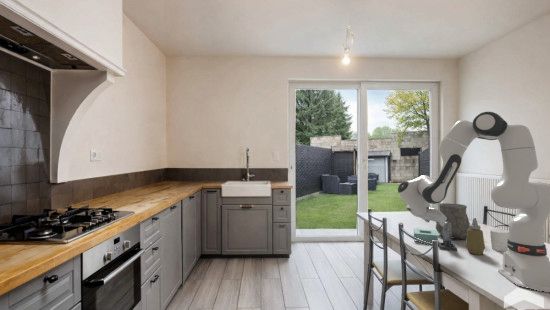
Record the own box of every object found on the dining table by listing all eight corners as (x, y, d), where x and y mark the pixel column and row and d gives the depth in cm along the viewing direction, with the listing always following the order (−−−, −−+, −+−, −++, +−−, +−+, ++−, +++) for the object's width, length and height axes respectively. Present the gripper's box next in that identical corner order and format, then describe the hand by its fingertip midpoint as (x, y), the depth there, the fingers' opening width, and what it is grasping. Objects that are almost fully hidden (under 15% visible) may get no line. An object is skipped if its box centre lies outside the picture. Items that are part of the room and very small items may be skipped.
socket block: (437, 244, 159) (437, 235, 160) (414, 241, 165) (414, 233, 165) (435, 238, 170) (435, 230, 170) (413, 236, 175) (413, 228, 176)
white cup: (512, 252, 145) (512, 233, 145) (495, 251, 147) (495, 232, 147) (503, 247, 153) (503, 229, 153) (487, 246, 155) (487, 228, 155)
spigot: (452, 249, 151) (451, 223, 151) (443, 248, 152) (443, 222, 152) (451, 247, 154) (450, 221, 154) (442, 246, 156) (442, 221, 156)
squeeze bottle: (468, 254, 142) (468, 219, 142) (463, 249, 150) (463, 216, 150) (487, 256, 139) (487, 220, 140) (481, 251, 147) (481, 217, 147)
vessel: (427, 236, 175) (427, 204, 175) (439, 230, 190) (439, 201, 190) (468, 244, 159) (468, 209, 159) (478, 237, 174) (477, 204, 174)
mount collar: (457, 251, 148) (457, 248, 148) (439, 249, 151) (439, 246, 151) (454, 246, 155) (454, 243, 155) (438, 244, 159) (438, 242, 159)
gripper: (440, 204, 139) (455, 223, 142) (409, 199, 159) (423, 215, 162) (433, 214, 138) (448, 232, 141) (403, 207, 158) (417, 223, 160)
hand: (435, 223), depth 151 cm, fingers open, 8 cm apart
